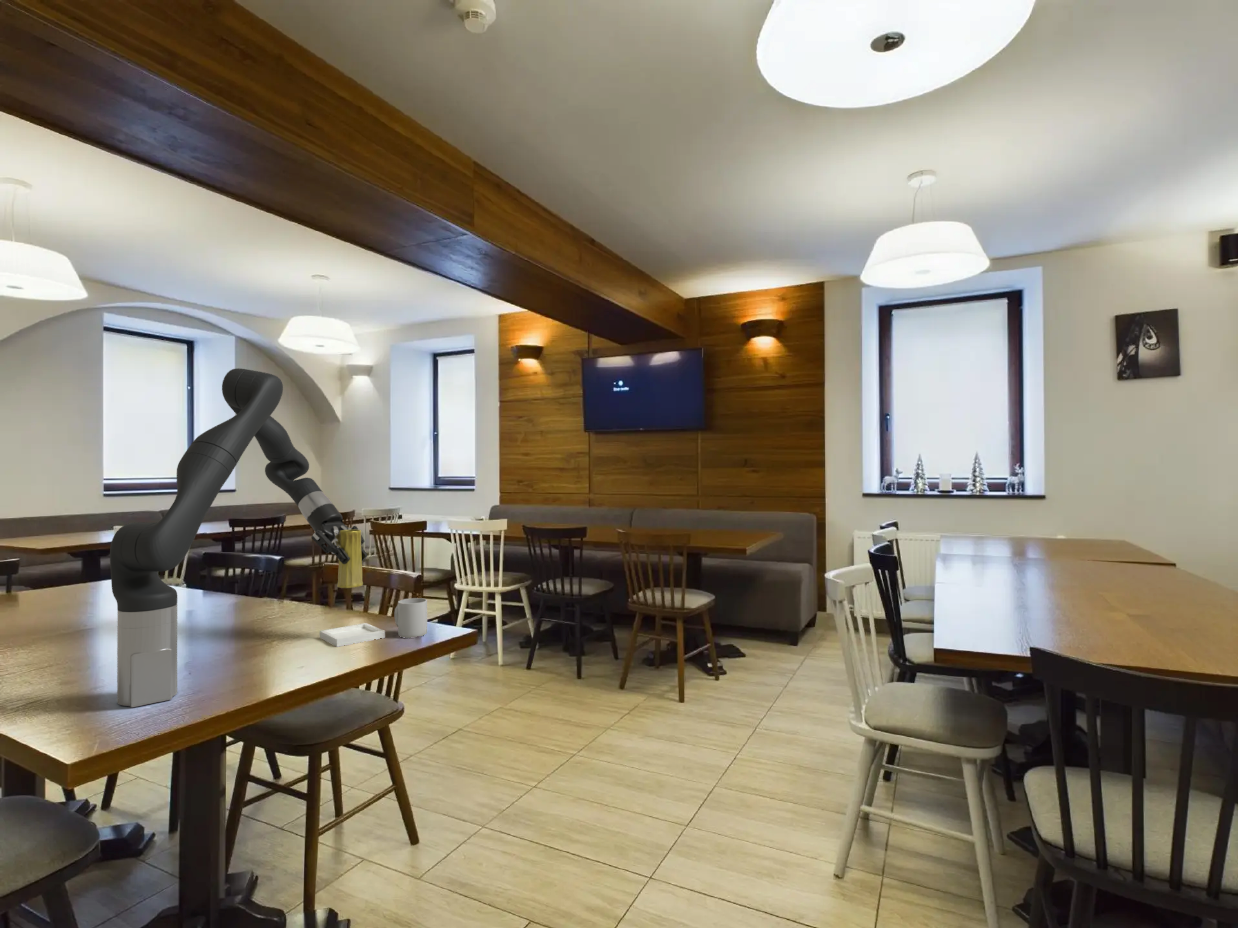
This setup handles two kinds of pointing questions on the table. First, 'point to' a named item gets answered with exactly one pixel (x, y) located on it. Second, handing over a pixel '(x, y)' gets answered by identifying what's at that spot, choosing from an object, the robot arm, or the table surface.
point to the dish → (351, 634)
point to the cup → (411, 617)
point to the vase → (353, 569)
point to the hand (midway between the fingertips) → (355, 560)
